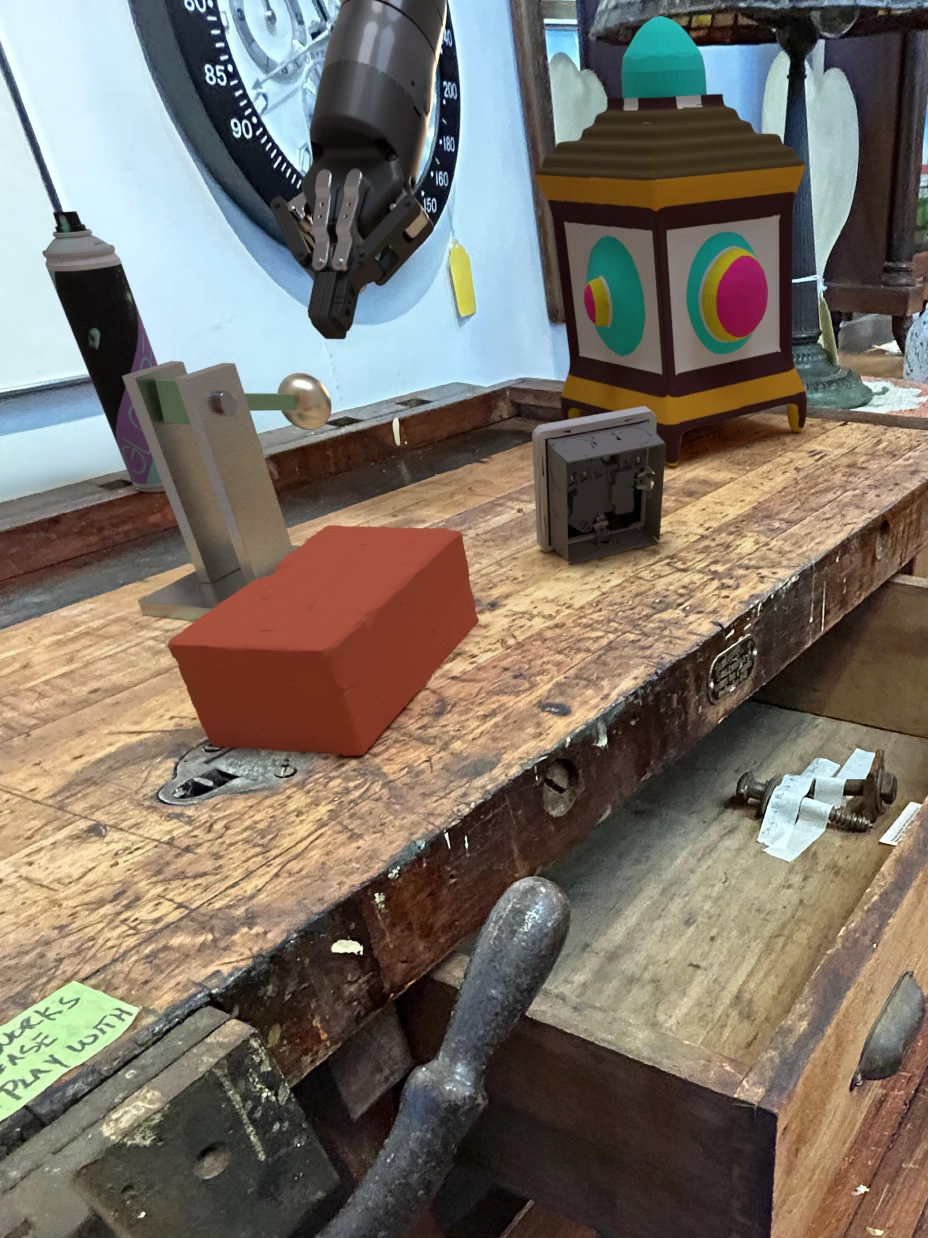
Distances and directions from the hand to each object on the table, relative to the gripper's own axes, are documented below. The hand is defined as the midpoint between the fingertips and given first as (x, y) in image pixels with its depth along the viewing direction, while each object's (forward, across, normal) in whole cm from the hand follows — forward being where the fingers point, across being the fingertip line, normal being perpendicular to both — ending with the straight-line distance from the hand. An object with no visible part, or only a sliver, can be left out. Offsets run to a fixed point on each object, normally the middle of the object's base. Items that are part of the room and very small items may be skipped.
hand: (327, 331), depth 75 cm
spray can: (+6, -26, +13) cm, 30 cm away
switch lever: (+10, 0, -4) cm, 11 cm away
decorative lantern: (-12, +16, +31) cm, 37 cm away
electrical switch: (+11, +22, +8) cm, 25 cm away
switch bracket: (+20, 0, -2) cm, 20 cm away
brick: (+28, +16, -9) cm, 33 cm away
